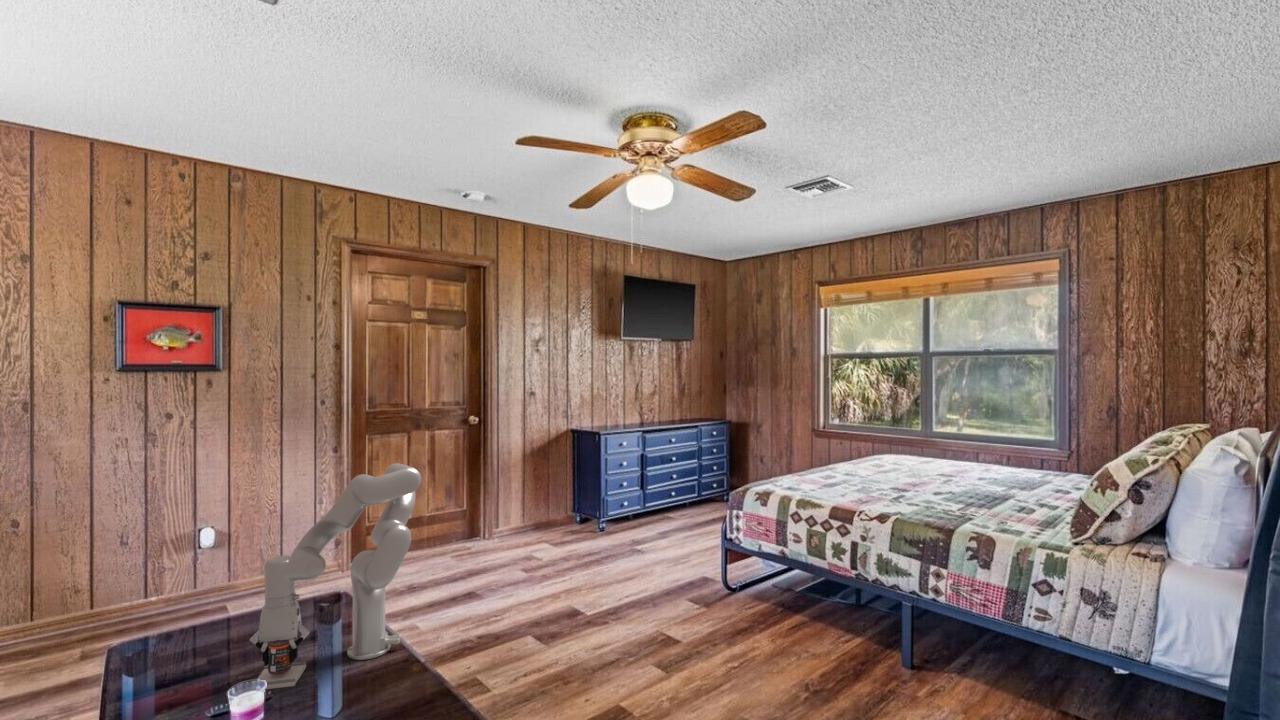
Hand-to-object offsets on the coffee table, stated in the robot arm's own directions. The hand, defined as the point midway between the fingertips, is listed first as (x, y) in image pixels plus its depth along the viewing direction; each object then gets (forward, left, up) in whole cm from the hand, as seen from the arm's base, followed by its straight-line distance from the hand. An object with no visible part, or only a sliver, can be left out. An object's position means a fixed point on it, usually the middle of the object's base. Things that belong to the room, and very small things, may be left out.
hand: (280, 661), depth 176 cm
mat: (0, 0, -5) cm, 5 cm away
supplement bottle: (0, 0, -3) cm, 3 cm away
